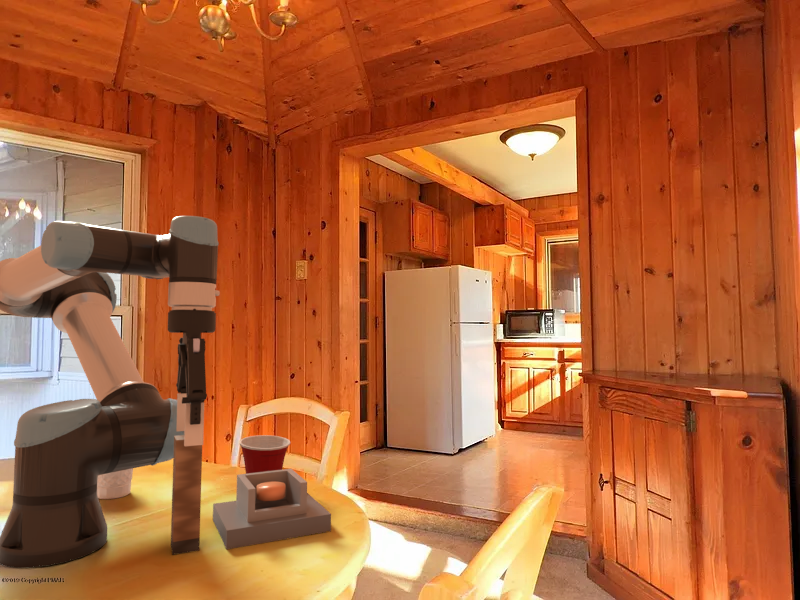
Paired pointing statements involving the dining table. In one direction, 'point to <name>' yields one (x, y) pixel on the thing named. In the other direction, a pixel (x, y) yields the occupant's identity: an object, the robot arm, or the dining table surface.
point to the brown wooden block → (186, 497)
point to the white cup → (114, 484)
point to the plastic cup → (264, 453)
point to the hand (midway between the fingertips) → (188, 437)
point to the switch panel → (269, 511)
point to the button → (270, 491)
